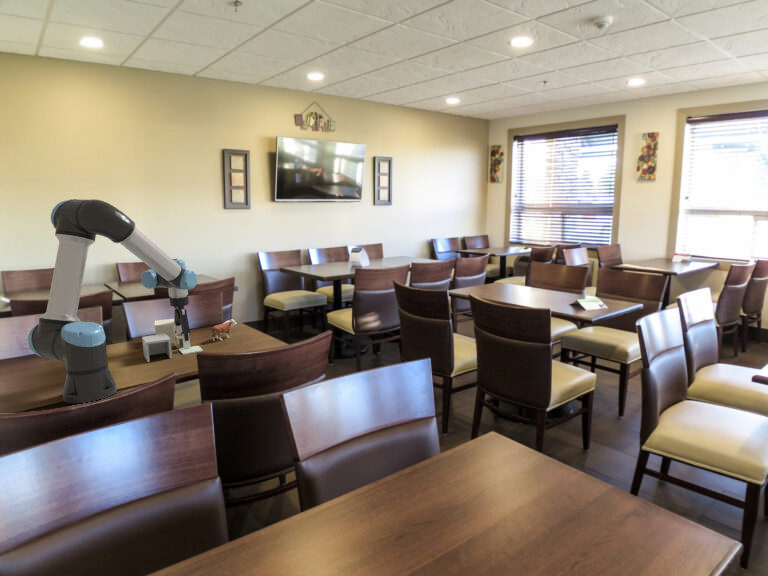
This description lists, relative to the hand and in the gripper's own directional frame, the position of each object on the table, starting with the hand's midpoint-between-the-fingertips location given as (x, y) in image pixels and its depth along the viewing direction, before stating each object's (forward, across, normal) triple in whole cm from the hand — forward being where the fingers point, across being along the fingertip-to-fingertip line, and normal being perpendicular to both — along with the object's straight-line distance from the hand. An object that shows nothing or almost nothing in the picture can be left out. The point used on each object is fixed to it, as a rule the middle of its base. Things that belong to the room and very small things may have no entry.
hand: (183, 344), depth 215 cm
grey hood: (0, -10, +12) cm, 16 cm away
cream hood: (-4, +12, +9) cm, 16 cm away
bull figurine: (+1, +2, -18) cm, 18 cm away
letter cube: (+1, 0, 0) cm, 1 cm away
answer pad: (+1, -9, -1) cm, 9 cm away
